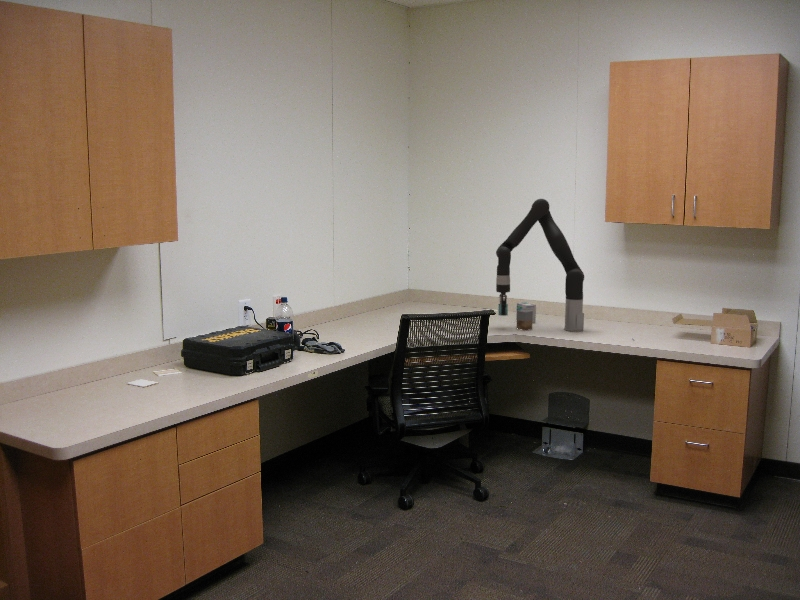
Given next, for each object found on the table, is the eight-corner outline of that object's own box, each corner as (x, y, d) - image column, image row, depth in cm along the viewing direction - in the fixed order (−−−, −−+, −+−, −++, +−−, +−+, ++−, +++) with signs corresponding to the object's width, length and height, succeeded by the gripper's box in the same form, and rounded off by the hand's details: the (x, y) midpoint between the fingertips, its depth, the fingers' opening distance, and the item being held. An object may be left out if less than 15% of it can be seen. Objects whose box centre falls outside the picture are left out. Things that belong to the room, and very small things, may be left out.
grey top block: (532, 320, 441) (532, 311, 441) (525, 321, 437) (525, 312, 437) (523, 318, 446) (524, 309, 445) (516, 319, 442) (517, 310, 441)
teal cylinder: (509, 314, 442) (509, 304, 441) (503, 315, 439) (503, 305, 438) (502, 313, 446) (502, 303, 445) (496, 314, 443) (496, 304, 442)
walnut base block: (532, 329, 442) (532, 320, 441) (525, 330, 438) (525, 321, 437) (523, 327, 447) (523, 318, 446) (516, 328, 443) (516, 319, 442)
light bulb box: (515, 321, 467) (516, 302, 465) (525, 320, 469) (526, 301, 468) (526, 324, 457) (526, 305, 455) (536, 323, 460) (536, 304, 458)
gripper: (511, 284, 433) (511, 316, 435) (509, 281, 447) (508, 312, 449) (497, 285, 433) (497, 316, 435) (495, 281, 447) (495, 312, 450)
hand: (503, 314), depth 442 cm, fingers closed on teal cylinder, 5 cm apart
